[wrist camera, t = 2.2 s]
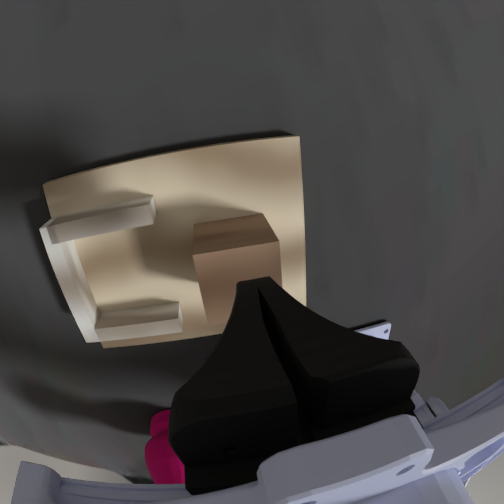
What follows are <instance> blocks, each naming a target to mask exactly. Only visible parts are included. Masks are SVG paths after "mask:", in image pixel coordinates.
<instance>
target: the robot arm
mask: <svg viewBox="0 0 504 504" xmlns="http://www.w3.org/2000/svg"><path fill="white" fill-rule="evenodd" d="M390 329H391V324H390V323H389V322H388V321H387V322H383V323H380V324H376V325H372V326H369V327H365V328H362V329H358V330H354V331H353V330H350V329H348V328H345V327H343V326H340V325H338V324H336V323H334V322H331V321H329V320H327V319H326V318H324V317H322V316H320V315H318V314H316V313H315V312H313V311H312V310H310V309H309V308H307V307H306V306H304V305H303V304H301V303H300V302H299V301H297V300H296V299H295V298H294V297H292V296H291V295H290V294H289V293H288V292H286V291H285V290H284V289H283V288H282V287H281V286H280V285H279V284H277V283H276V282H275V281H274V280H273V279H272V278H271V277H270V276H267V277H262V278H256V279H251V280H245V281H239V282H238V283H237V284H236V296H235V300H234V304H233V308H232V311H231V314H230V317H229V319H228V322H227V324H226V327H225V329H224V331H223V333H222V335H221V337H220V339H219V341H218V343H217V345H216V346H215V348H214V349H213V351H212V352H211V354H210V355H209V357H208V358H207V360H206V361H205V362H204V363H203V365H202V366H201V367H200V368H199V370H198V371H197V372H196V373H195V374H194V375H193V377H192V378H191V379H190V380H189V381H188V382H187V383H185V384H184V385H183V386H182V387H181V388H180V389H179V390H178V391H177V392H176V393H175V395H174V398H173V402H172V405H171V410H170V415H169V423H168V441H169V444H170V446H171V448H172V449H173V451H174V452H175V454H176V455H177V456H178V458H179V459H180V461H181V462H182V463H183V465H184V471H185V483H184V484H120V483H105V482H94V481H84V480H77V479H70V478H63V477H61V476H60V475H59V474H58V473H57V472H56V471H54V470H53V469H51V468H49V467H47V466H45V465H40V464H35V463H30V462H25V461H21V463H20V466H19V470H18V474H17V478H16V482H15V487H14V491H13V496H12V502H11V504H474V503H473V501H472V499H471V497H470V495H469V493H468V491H467V490H466V488H465V487H466V485H467V483H468V481H469V479H470V477H472V476H473V475H474V474H476V473H477V472H479V471H480V470H481V469H483V468H484V467H485V466H486V465H488V464H489V463H490V462H492V461H493V460H494V459H496V458H497V457H498V456H499V455H501V454H502V453H503V452H504V377H503V378H502V379H500V380H499V381H497V382H496V383H494V384H493V385H491V386H490V387H488V388H486V389H485V390H483V391H482V392H480V393H478V394H477V395H475V396H473V397H472V398H470V399H468V400H467V401H465V402H463V403H461V404H460V405H458V406H456V407H454V408H452V409H450V410H448V408H447V407H446V405H445V404H444V403H443V402H442V401H441V400H440V399H439V398H433V397H429V398H428V399H427V400H426V403H427V405H428V407H429V408H428V407H427V405H426V404H425V402H424V401H423V399H422V398H421V396H420V395H419V393H416V392H415V390H414V388H415V386H416V383H417V380H418V377H419V373H420V369H419V364H418V363H417V362H416V360H415V359H414V358H413V356H412V355H411V353H410V352H409V351H408V350H407V349H406V348H405V346H404V345H403V344H402V343H401V342H398V341H393V340H388V338H389V333H390ZM429 409H430V410H429Z"/></svg>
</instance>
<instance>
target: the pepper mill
mask: <svg viewBox="0 0 504 504" xmlns="http://www.w3.org/2000/svg"><path fill="white" fill-rule="evenodd" d="M170 410H171V409H169V410H163V411H161V412H158V413H156V414H155V415H154V416H153V417H152V419H151V427H150V434H151V436H152V438H151V439H150V440H149V441H148V442H147V444H146V446H145V461H146V465H147V468H148V471H149V473H150V475H151V477H152V479H153V481H154V483H155V484H184V483H185V471H184V465H183V463H182V462H181V461H180V459H179V458H178V456H177V455H176V454H175V452H174V451H173V449H172V448H171V446H170V444H169V441H168V423H169V415H170Z"/></svg>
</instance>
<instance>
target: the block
mask: <svg viewBox="0 0 504 504" xmlns="http://www.w3.org/2000/svg"><path fill="white" fill-rule="evenodd" d="M192 255H193V260H194V265H195V270H196V274H197V279H198V283H199V288H200V292H201V297H202V301H203V305H204V310H205V314H206V318H207V322H208V324H211V323H217V322H223V321H228V319H229V317H230V314H231V311H232V308H233V304H234V300H235V296H236V284H237V283H238V282H239V281H245V280H251V279H256V278H262V277H267V276H270V277H271V278H272V279H273V280H274V281H275V282H276V283H277V284H279V285H280V286H281V287H282V272H281V257H280V242H279V240H278V238H277V236H276V234H275V233H274V231H273V229H272V228H271V226H270V224H269V223H268V221H267V219H266V218H265V216H264V214H263V213H262V214H255V215H248V216H242V217H235V218H229V219H223V220H216V221H210V222H204V223H198V224H194V227H193V254H192Z"/></svg>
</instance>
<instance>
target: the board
mask: <svg viewBox="0 0 504 504" xmlns="http://www.w3.org/2000/svg"><path fill="white" fill-rule="evenodd" d="M43 189H44V193H45V197H46V200H47V204H48V208H49V211H50V215H51V219H50V220H49V221H48V222H46V223H45V224H44V225H43V226H42V227H41V228H40V229H39V230H40V233H41V236H42V239H43V242H44V245H45V248H46V251H47V254H48V256H49V259H50V262H51V264H52V267H53V270H54V272H55V275H56V277H57V280H58V282H59V285H60V287H61V289H62V292H63V294H64V296H65V299H66V301H67V303H68V305H69V308H70V310H71V312H72V314H73V316H74V318H75V320H76V323H77V325H78V327H79V329H80V331H81V333H82V335H83V337H84V339H85V341H86V343H90V342H101V344H102V346H103V348H113V347H123V346H133V345H142V344H151V343H159V342H167V341H175V340H182V339H189V338H196V337H203V336H210V335H216V334H222V333H223V331H224V329H225V327H226V324H227V322H228V321H223V322H217V323H211V324H208V322H207V318H206V314H205V310H204V305H203V301H202V297H201V292H200V288H199V283H198V279H197V274H196V270H195V265H194V260H193V255H192V254H193V227H194V224H198V223H204V222H210V221H216V220H223V219H229V218H235V217H242V216H248V215H255V214H262V213H263V214H264V216H265V218H266V219H267V221H268V223H269V224H270V226H271V228H272V229H273V231H274V233H275V234H276V236H277V238H278V240H279V242H280V257H281V272H282V288H283V289H284V290H285V291H286V292H288V293H289V294H290V295H291V296H292V297H294V298H295V299H296V300H297V301H299V302H300V303H301V304H303V305H304V306H306V264H305V230H304V206H303V186H302V169H301V153H300V139H299V136H296V135H289V136H277V137H267V138H258V139H249V140H241V141H233V142H225V143H218V144H211V145H205V146H198V147H192V148H186V149H181V150H175V151H170V152H164V153H159V154H154V155H149V156H144V157H140V158H135V159H131V160H126V161H122V162H117V163H113V164H109V165H105V166H101V167H97V168H93V169H89V170H86V171H82V172H78V173H75V174H71V175H68V176H64V177H61V178H57V179H54V180H51V181H48V182H46V183H45V184H43Z"/></svg>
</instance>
